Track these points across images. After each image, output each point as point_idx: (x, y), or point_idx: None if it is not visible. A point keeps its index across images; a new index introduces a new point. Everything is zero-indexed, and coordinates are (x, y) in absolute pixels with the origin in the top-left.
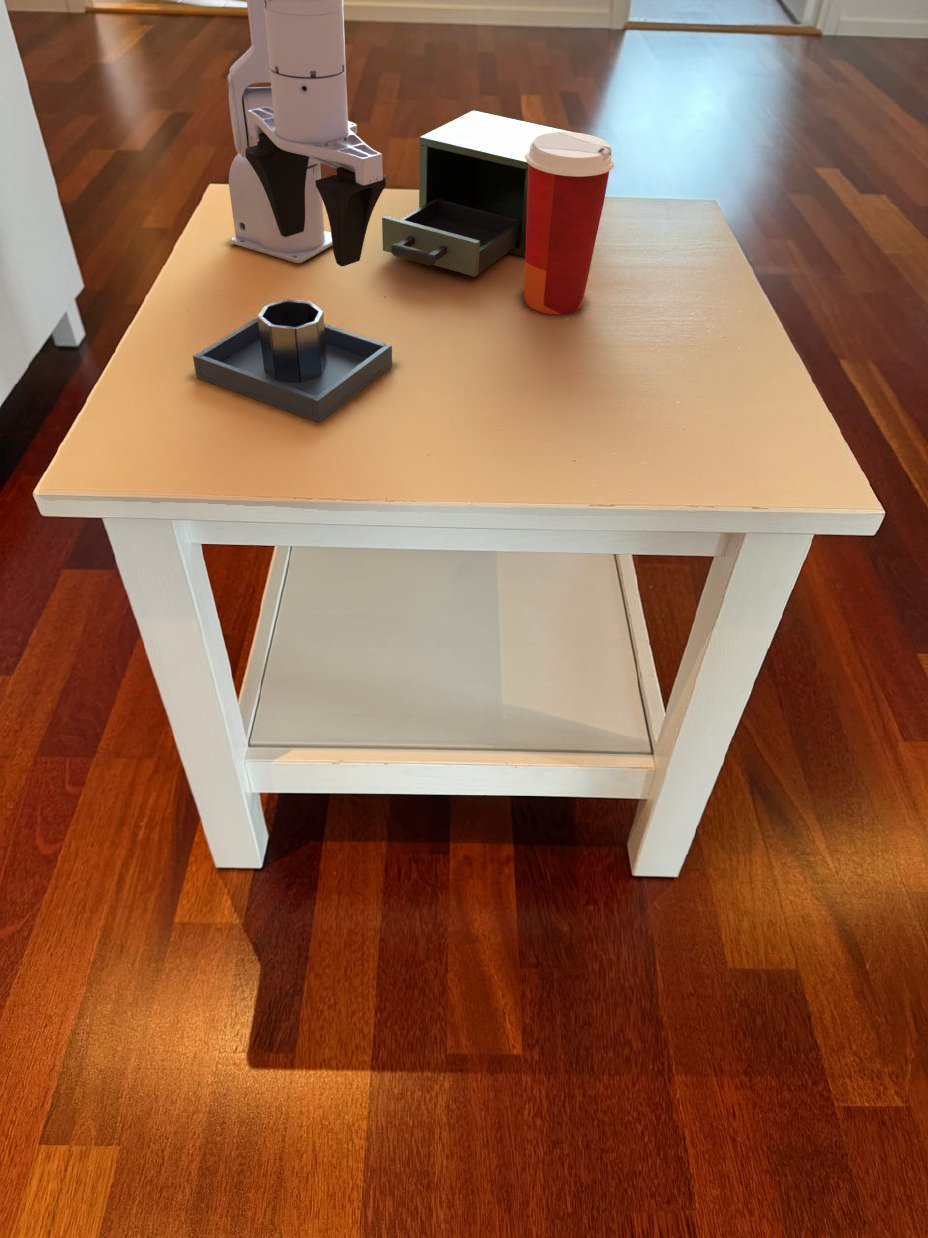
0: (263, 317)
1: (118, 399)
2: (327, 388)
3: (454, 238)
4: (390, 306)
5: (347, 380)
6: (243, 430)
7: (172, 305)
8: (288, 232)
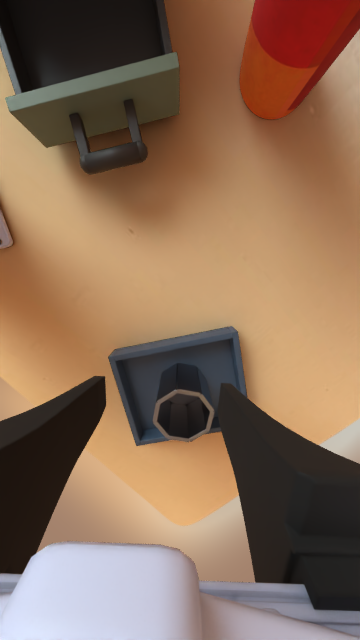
0: (171, 436)
1: (129, 473)
2: None
3: (140, 80)
4: (150, 242)
5: (246, 392)
6: (213, 446)
7: (27, 382)
8: (103, 403)
